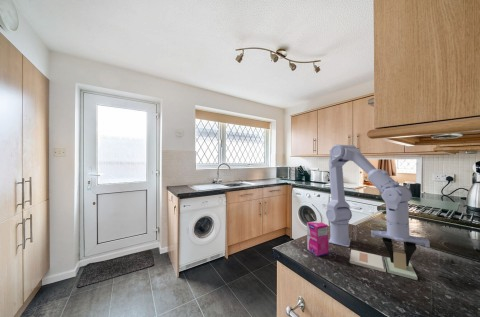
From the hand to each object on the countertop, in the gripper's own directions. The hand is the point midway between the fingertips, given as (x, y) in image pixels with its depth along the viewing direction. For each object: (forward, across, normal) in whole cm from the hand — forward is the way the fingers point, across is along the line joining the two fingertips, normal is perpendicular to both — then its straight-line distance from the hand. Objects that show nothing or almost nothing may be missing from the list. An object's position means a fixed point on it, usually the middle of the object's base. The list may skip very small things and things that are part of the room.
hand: (399, 263), depth 60 cm
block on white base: (+2, 0, 0) cm, 2 cm away
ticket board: (+2, -9, 0) cm, 9 cm away
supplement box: (+2, -25, -3) cm, 25 cm away
